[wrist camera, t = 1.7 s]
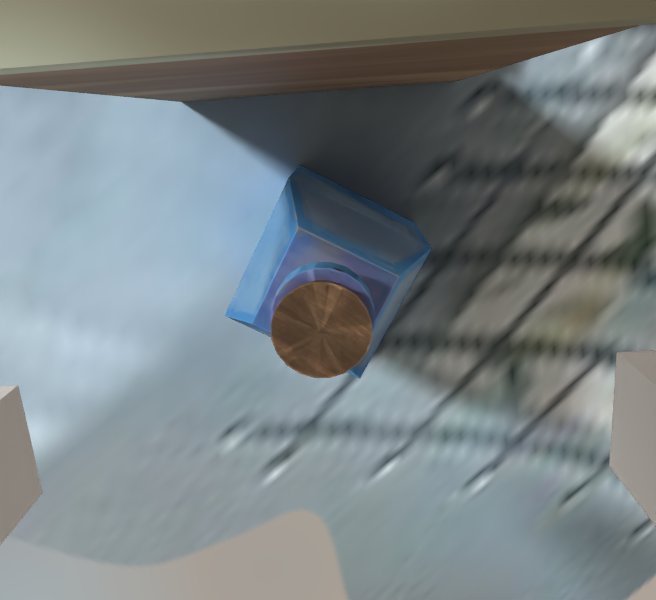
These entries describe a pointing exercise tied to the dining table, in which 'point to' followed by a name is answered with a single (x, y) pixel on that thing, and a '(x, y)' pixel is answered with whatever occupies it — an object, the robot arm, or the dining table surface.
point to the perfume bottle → (328, 276)
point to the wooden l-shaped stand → (285, 42)
